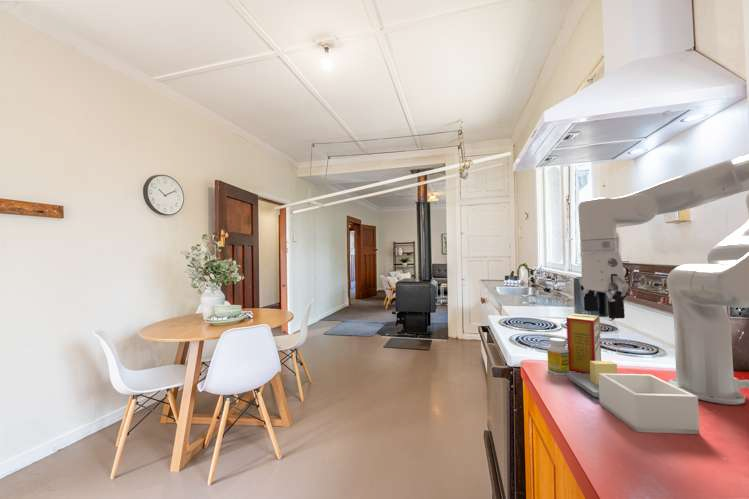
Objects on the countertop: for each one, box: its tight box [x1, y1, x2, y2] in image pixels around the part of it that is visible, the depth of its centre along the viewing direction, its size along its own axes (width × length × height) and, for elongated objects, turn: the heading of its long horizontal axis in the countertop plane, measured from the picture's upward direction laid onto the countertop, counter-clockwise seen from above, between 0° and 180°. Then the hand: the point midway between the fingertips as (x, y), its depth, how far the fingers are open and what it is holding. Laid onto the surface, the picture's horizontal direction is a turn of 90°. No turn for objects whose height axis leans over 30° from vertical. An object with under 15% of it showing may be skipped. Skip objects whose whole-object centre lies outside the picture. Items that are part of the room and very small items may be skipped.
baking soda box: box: [566, 313, 602, 374], centre depth 90 cm, size 10×6×16 cm
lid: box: [566, 360, 618, 399], centre depth 76 cm, size 12×12×7 cm
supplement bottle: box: [547, 337, 570, 376], centre depth 88 cm, size 5×5×10 cm
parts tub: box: [598, 373, 701, 435], centre depth 63 cm, size 11×11×7 cm
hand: (603, 314), depth 76 cm, fingers open, 9 cm apart
